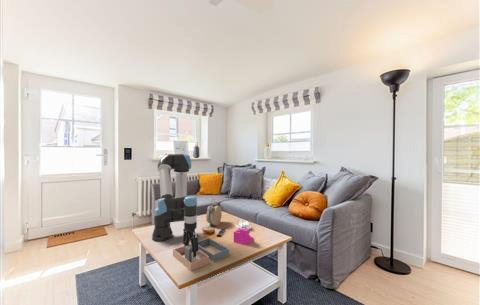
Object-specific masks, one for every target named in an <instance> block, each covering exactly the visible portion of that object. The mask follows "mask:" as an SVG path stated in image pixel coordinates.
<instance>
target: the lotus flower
mask: <svg viewBox="0 0 480 305" xmlns="http://www.w3.org/2000/svg"><path fill="white" fill-rule="evenodd" d="M234 227H235V228H236V230H240V229H246V230H248V231H249V230H250V229H252V227H251V226H250V223H249V222H248V220H242V219H240V220H237V223H235V224H234Z"/></svg>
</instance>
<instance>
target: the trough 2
mask: <svg viewBox="0 0 480 305" xmlns="http://www.w3.org/2000/svg"><path fill="white" fill-rule="evenodd" d="M206 245H210V246H212V247H213V248H215V249H217V250H219V251H218V252H216V253H212V252H211V251H209V250H207V249H206V248H204V247H203V246H206ZM198 248H199V250H200V251H202V252H203V253H205V254H206V255H208V256H209V261H212V262H215V261H218V260H220V259H223V258H225V257H228V256H230V249H229V248H228V247H226V246H225V245H223V244H221V243H219V242H217V241H215V240H214V239H212V238H210V237H207V238H203V239H201V240H198Z"/></svg>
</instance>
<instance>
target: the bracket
mask: <svg viewBox="0 0 480 305" xmlns="http://www.w3.org/2000/svg"><path fill="white" fill-rule="evenodd" d="M250 233H251V232H250V231H249V230H246V229H236V230H234V231H233V243H236V244H240V245H244V246H247V245H248V244H249V243H251V241H252V240H253V239H254V237H253V236H251V235H250Z"/></svg>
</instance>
